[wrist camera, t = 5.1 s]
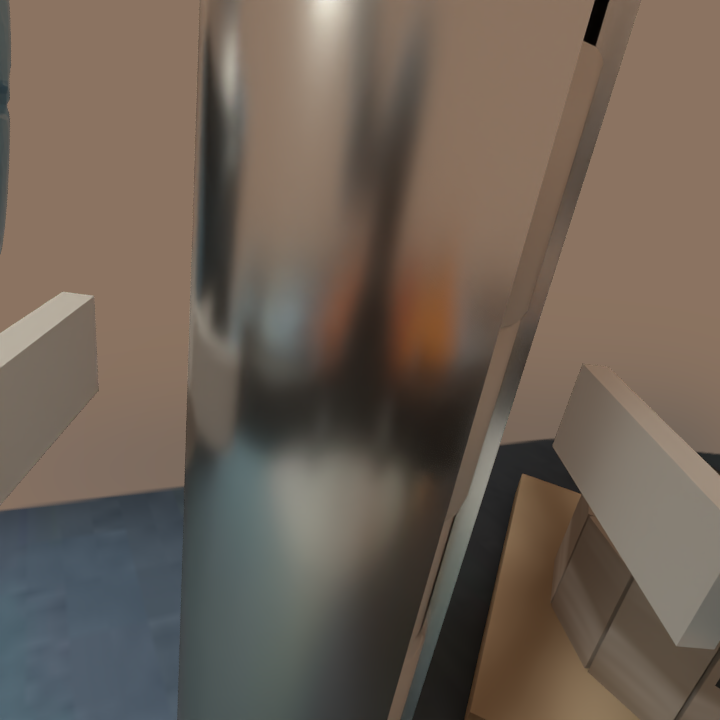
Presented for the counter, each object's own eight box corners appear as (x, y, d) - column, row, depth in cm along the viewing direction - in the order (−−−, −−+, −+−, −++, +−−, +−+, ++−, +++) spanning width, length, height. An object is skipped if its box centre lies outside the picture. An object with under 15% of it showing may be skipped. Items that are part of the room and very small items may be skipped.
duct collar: (459, 738, 19) (509, 609, 17) (515, 493, 33) (547, 401, 31) (1024, 1022, 15) (1216, 909, 12) (816, 602, 29) (884, 505, 26)
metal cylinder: (183, 962, 13) (290, -994, 3) (167, 707, 19) (187, -315, 8) (415, 865, 16) (909, -390, 6) (343, 664, 21) (525, -164, 11)
